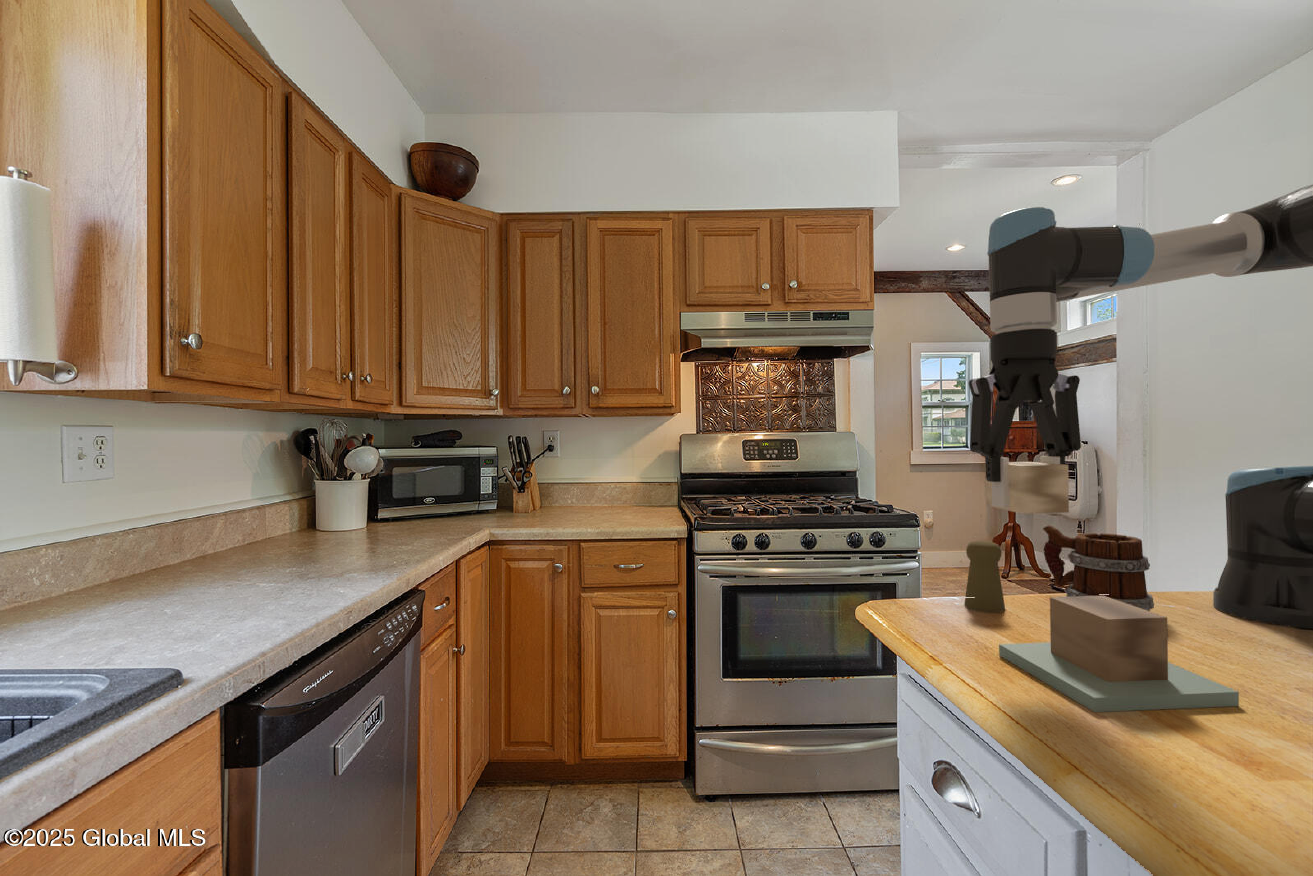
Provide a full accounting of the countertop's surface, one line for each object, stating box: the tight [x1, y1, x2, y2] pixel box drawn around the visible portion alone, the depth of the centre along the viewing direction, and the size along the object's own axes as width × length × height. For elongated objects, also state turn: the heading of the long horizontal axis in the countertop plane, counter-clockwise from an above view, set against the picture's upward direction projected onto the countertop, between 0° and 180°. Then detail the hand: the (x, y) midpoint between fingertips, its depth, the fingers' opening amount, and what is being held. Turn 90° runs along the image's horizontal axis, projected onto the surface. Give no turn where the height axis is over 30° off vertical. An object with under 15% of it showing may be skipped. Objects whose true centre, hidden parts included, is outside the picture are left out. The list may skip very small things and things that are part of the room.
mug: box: [1042, 525, 1155, 612], centre depth 99 cm, size 12×14×15 cm
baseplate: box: [998, 641, 1240, 713], centre depth 71 cm, size 16×16×2 cm
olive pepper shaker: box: [964, 540, 1006, 613], centre depth 100 cm, size 6×6×11 cm
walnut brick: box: [1049, 596, 1169, 682], centre depth 71 cm, size 7×9×7 cm
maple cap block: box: [985, 461, 1070, 514], centre depth 79 cm, size 6×8×6 cm
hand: (1025, 505), depth 79 cm, fingers closed on maple cap block, 6 cm apart
